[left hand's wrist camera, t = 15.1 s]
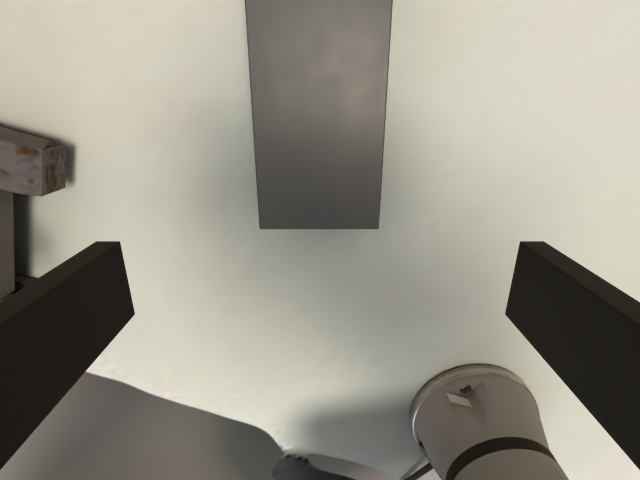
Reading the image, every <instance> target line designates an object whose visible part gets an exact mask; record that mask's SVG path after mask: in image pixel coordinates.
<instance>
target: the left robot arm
mask: <svg viewBox="0 0 640 480" xmlns="http://www.w3.org/2000/svg"><path fill="white" fill-rule="evenodd" d="M134 314H135V313H134V308H133V303H132V298H131V293H130V288H129V284H128V279H127V274H126V269H125V264H124V259H123V255H122V250H121V245H120V242H95V243H93V244H92V245H90V246H89V247H87V248H85V249H84V250H82V251H81V252H79V253H78V254H76V255H74V256H73V257H71V258H70V259H68V260H66V261H65V262H63V263H62V264H60V265H59V266H57V267H55V268H54V269H52V270H51V271H49V272H48V273H46V274H44V275H43V276H41V277H40V278H38V279H36V280H35V281H33V282H32V283H30V284H29V285H27V286H25V287H24V288H22V289H21V290H19V291H18V292H16V293H14V294H13V295H11V296H10V297H8V298H7V299H5V300H3V301H2V302H0V469H1V468H2V467H3V466H4V465H5V464H6V463H7V461H8V460H9V459H10V458H11V457H12V456H13V454H14V453H15V452H16V451H17V450H18V449H19V447H20V446H21V445H22V444H23V443H24V442H25V441H26V439H27V438H28V437H29V436H30V435H31V434H32V432H33V431H34V430H35V429H36V428H37V427H38V426H39V424H40V423H41V422H42V421H43V420H44V419H45V417H46V416H47V415H48V414H49V413H50V412H51V411H52V409H53V408H54V407H55V406H56V405H57V404H58V402H59V401H60V400H61V399H62V398H63V397H64V395H65V394H66V393H67V392H68V391H69V390H70V389H71V387H72V386H73V385H74V384H75V383H76V382H77V380H78V379H79V378H80V377H81V376H82V375H83V373H84V372H85V371H86V370H87V369H88V368H89V367H90V365H91V364H92V363H93V362H94V361H95V360H96V358H97V357H98V356H99V355H100V354H101V353H102V352H103V350H104V349H105V348H106V347H107V346H108V345H109V343H110V342H111V341H112V340H113V339H114V338H115V336H116V335H117V334H118V333H119V332H120V331H121V330H122V328H123V327H124V326H125V325H126V324H127V323H128V321H129V320H130V319H131V318H132V317H133V316H134ZM505 314H506V316H507V317H508V318H509V319H510V320H511V321H512V323H513V324H514V325H515V326H516V327H517V328H518V330H519V331H520V332H521V333H522V334H523V335H524V336H525V338H526V339H527V340H528V341H529V342H530V343H531V345H532V346H533V347H534V348H535V349H536V350H537V352H538V353H539V354H540V355H541V356H542V357H543V358H544V360H545V361H546V362H547V363H548V364H549V365H550V367H551V368H552V369H553V370H554V371H555V372H556V373H557V375H558V376H559V377H560V378H561V379H562V380H563V382H564V383H565V384H566V385H567V386H568V387H569V389H570V390H571V391H572V392H573V393H574V394H575V395H576V397H577V398H578V399H579V400H580V401H581V402H582V404H583V405H584V406H585V407H586V408H587V409H588V411H589V412H590V413H591V414H592V415H593V416H594V417H595V419H596V420H597V421H598V422H599V423H600V424H601V426H602V427H603V428H604V429H605V430H606V431H607V432H608V434H609V435H610V436H611V437H612V438H613V439H614V441H615V442H616V443H617V444H618V445H619V446H620V448H621V449H622V450H623V451H624V452H625V453H626V454H627V456H628V457H629V458H630V459H631V460H632V461H633V463H634V464H635V465H636V466H637V467H638V468H639V469H640V302H638V301H637V300H635V299H633V298H632V297H630V296H629V295H627V294H626V293H624V292H622V291H621V290H619V289H618V288H616V287H615V286H613V285H611V284H610V283H608V282H607V281H605V280H604V279H602V278H600V277H599V276H597V275H596V274H594V273H592V272H591V271H589V270H588V269H586V268H585V267H583V266H581V265H580V264H578V263H577V262H575V261H574V260H572V259H570V258H569V257H567V256H566V255H564V254H562V253H561V252H559V251H558V250H556V249H555V248H553V247H551V246H550V245H548V244H547V243H545V242H520V245H519V250H518V255H517V259H516V264H515V269H514V274H513V279H512V284H511V288H510V293H509V298H508V303H507V308H506V313H505ZM410 423H411V427H412V431H413V434H414V437H415V440H416V442H417V444H418V446H419V448H420V449H421V451H422V452H423V453H424V455H425V456H426V457H427V459H428V460H429V462H430V463H428V464H427V465H426V466H424V467H423V468H421V469H420V470H418V471H417V472H415V473H414V474H412V475H411V476H409V477H408V478H406V479H405V480H416V479H418V478H420V477H421V476H423V475H424V474H426V473H427V472H428V471H430V470H431V469H433V468H434V469H435V471H436V472H437V474H438V475H439V476H440V478H441V479H442V480H569V479H568V478H567V476H566V475H565V473H564V472H563V470H562V469H561V467H560V466H559V464H558V462H557V461H556V459H555V458H554V456H553V455H552V453H551V452H550V450H549V447H548V444H547V440H546V437H545V433H544V430H543V427H542V423H541V420H540V415H539V410H538V406H537V403H536V401H535V399H534V397H533V395H532V394H531V392H530V391H529V389H528V388H527V387H526V385H525V384H524V383H523V381H522V380H521V379H520V378H519V377H517V376H516V375H515V374H513V373H511V372H510V371H508V370H505V369H503V368H500V367H496V366H490V365H468V366H463V367H459V368H455V369H452V370H449V371H447V372H445V373H443V374H441V375H439V376H437V377H436V378H434V379H433V380H431V381H430V382H429V383H428V384H426V385H425V386H424V387H423V388H422V389H421V391H420V392H419V393H418V395H417V396H416V398H415V400H414V402H413V404H412V407H411V411H410Z"/></svg>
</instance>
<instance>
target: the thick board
mask: <svg viewBox="0 0 640 480" xmlns="http://www.w3.org/2000/svg"><path fill="white" fill-rule="evenodd" d="M392 3H393V0H245V9H246V24H247V40H248V55H249V71H250V86H251V102H252V117H253V133H254V148H255V164H256V179H257V195H258V210H259V226H260V229H378V228H379V214H380V198H381V182H382V166H383V149H384V133H385V117H386V100H387V84H388V68H389V52H390V35H391V19H392Z"/></svg>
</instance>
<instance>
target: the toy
mask: <svg viewBox="0 0 640 480" xmlns="http://www.w3.org/2000/svg"><path fill="white" fill-rule="evenodd" d="M66 147H67V146H63V145H61V146H56V147H55V142H53V141H51V140H47V139H44V138H40V137H37V136H33V135H29V134H26V133H22V132H19V131H15V130H11V129H8V128H4V127H1V126H0V302H2V301H3V300H5V299H7V298H8V297H10V296H11V295H13V294H14V293H16V292H18V291H19V290H21V289H22V288H24V287H25V286H27V285H29V284H30V283H32V282H33V281H35V280H36V279H33V278H29V277H25V276H21V275H16V274H14V216H13V192H14V193H19V194H28V195H36V196H44V195H46V194H49V193H52V192H55V191H57V190H60V189H63V188H65V174H66Z"/></svg>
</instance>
